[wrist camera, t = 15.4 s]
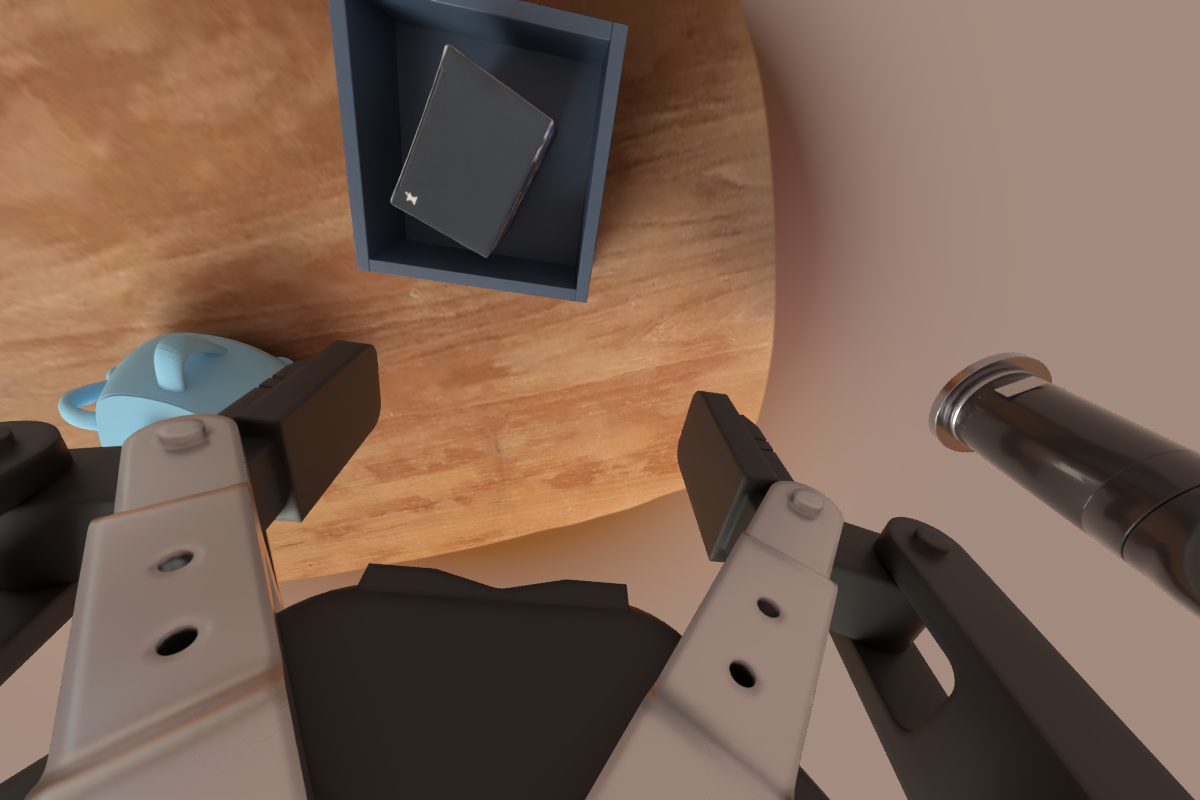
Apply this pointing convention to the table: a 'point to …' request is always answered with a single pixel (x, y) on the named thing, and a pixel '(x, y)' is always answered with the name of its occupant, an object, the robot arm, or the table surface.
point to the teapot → (169, 384)
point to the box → (472, 155)
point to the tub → (529, 67)
